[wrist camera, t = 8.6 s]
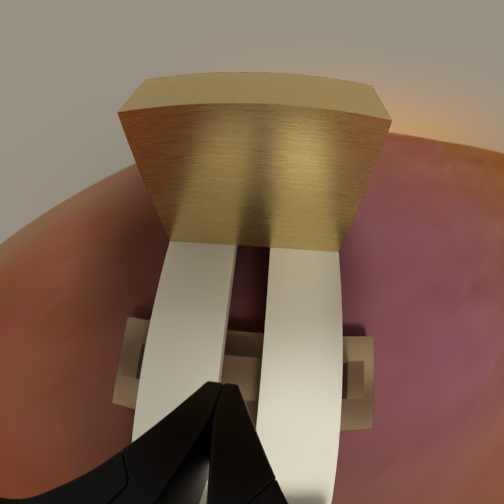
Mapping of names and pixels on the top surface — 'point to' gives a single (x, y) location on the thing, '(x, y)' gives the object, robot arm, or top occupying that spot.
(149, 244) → the top surface
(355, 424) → the beam stand
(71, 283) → the top surface
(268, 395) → the white twin rails
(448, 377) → the top surface
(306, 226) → the block
